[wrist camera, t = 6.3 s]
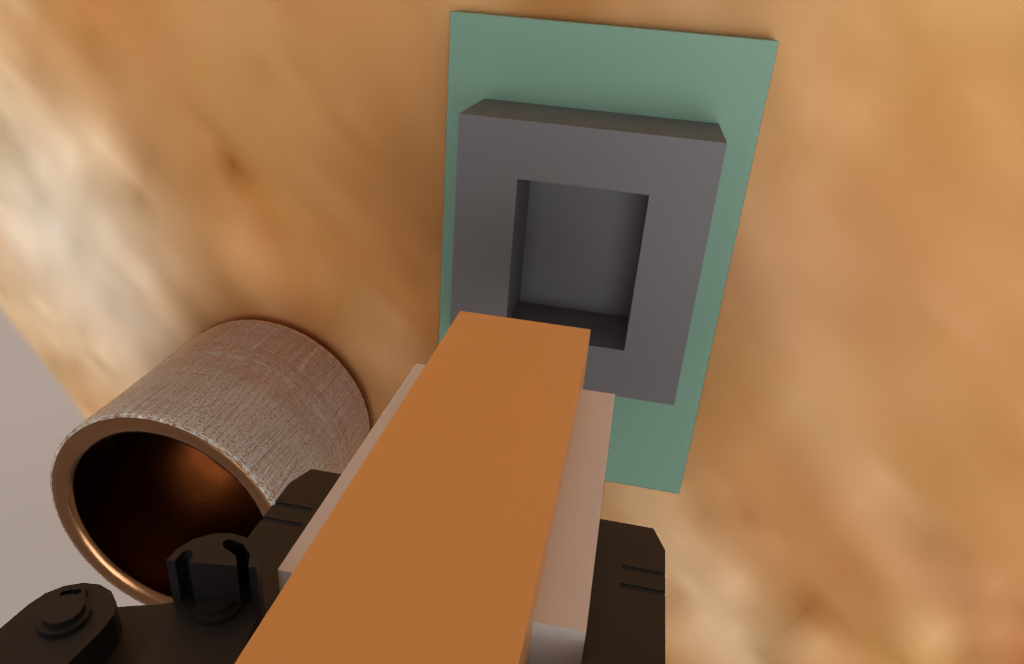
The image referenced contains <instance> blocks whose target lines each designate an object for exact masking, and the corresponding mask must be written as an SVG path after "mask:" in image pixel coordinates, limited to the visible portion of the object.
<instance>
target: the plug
mask: <svg viewBox="0 0 1024 664" xmlns="http://www.w3.org/2000/svg"><path fill="white" fill-rule="evenodd" d="M590 332H591V330H590V329H583V328H576V327H569V326H562V325H555V324H548V323H541V322H535V321H528V320H521V319H514V318H507V317H500V316H493V315H486V314H479V313H472V312H465V311H460V312H459V314H458V315H457V317H456V318H455V320H454V321H453V323H452V325H451V326H450V328H449V329H448V331H447V332H446V334H445V336H444V337H443V339H442V340H441V342H440V343H439V345H438V346H437V348H436V350H435V351H434V353H433V354H432V356H431V357H430V359H429V361H428V362H427V364H426V365H425V367H424V368H423V370H422V371H421V373H420V375H419V376H418V378H417V379H416V381H415V382H414V384H413V386H412V387H411V389H410V390H409V392H408V393H407V395H406V396H405V398H404V400H403V401H402V403H401V404H400V406H399V407H398V409H397V411H396V412H395V414H394V415H393V417H392V418H391V420H390V421H389V423H388V425H387V426H386V428H385V429H384V431H383V432H382V434H381V436H380V437H379V439H378V440H377V442H376V443H375V445H374V446H373V448H372V450H371V451H370V453H369V454H368V456H367V457H366V459H365V461H364V462H363V464H362V465H361V467H360V468H359V470H358V471H357V473H356V475H355V476H354V478H353V479H352V481H351V482H350V484H349V486H348V487H347V489H346V490H345V492H344V493H343V495H342V496H341V498H340V500H339V501H338V503H337V504H336V506H335V507H334V509H333V511H332V512H331V514H330V515H329V517H328V518H327V520H326V521H325V523H324V525H323V526H322V528H321V529H320V531H319V532H318V534H317V536H316V537H315V539H314V540H313V542H312V543H311V545H310V546H309V548H308V550H307V551H306V553H305V554H304V556H303V557H302V559H301V561H300V562H299V564H298V565H297V567H296V568H295V570H294V571H293V573H292V575H291V576H290V578H289V579H288V581H287V582H286V584H285V586H284V587H283V589H282V590H281V592H280V593H279V595H278V596H277V598H276V600H275V601H274V603H273V604H272V606H271V607H270V609H269V611H268V612H267V614H266V615H265V617H264V618H263V620H262V621H261V623H260V625H259V626H258V628H257V629H256V631H255V632H254V634H253V636H252V637H251V639H250V640H249V642H248V643H247V645H246V646H245V648H244V650H243V651H242V653H241V654H240V656H239V657H238V659H237V661H236V662H235V664H528V662H529V653H530V644H531V636H532V627H533V620H534V615H535V610H536V605H537V600H538V596H539V591H540V586H541V581H542V576H543V571H544V567H545V562H546V557H547V552H548V547H549V542H550V538H551V533H552V528H553V523H554V518H555V514H556V509H557V504H558V499H559V494H560V489H561V485H562V480H563V475H564V470H565V465H566V460H567V456H568V451H569V446H570V441H571V436H572V432H573V427H574V422H575V417H576V412H577V407H578V403H579V398H580V393H581V389H583V385H584V378H585V370H586V362H587V355H588V347H589V339H590Z"/></svg>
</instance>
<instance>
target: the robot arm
mask: <svg viewBox="0 0 1024 664" xmlns="http://www.w3.org/2000/svg"><path fill="white" fill-rule="evenodd" d="M424 367H425V365H424V364H418V363H416V364H415V365H414V367H413V368H412V370H411V371H410V373H409V374H408V376H407V377H406V379H405V380H404V382H403V383H402V385H401V386H400V388H399V389H398V391H397V392H396V394H395V395H394V396H393V398H392V399H391V401H390V402H389V404H388V405H387V407H386V408H385V410H384V411H383V413H382V414H381V416H380V417H379V419H378V420H377V422H376V423H375V425H374V426H373V428H372V429H371V431H370V432H369V434H368V435H367V437H366V438H365V440H364V441H363V443H362V444H361V446H360V447H359V449H358V450H357V452H356V453H355V455H354V456H353V458H352V459H351V461H350V462H349V464H348V465H347V467H346V468H345V470H344V471H343V473H342V474H338V473H332V472H327V471H321V470H316V469H310V470H309V471H307V472H306V473H304V474H303V475H301V476H299V477H298V478H296V479H295V480H293V481H292V482H290V483H289V484H288V485H287V487H286V488H285V489H284V490H283V492H282V493H281V494H280V496H279V497H278V498H277V500H276V501H275V505H272V506H271V507H270V509H269V510H268V511H267V513H266V514H265V515H264V518H263V520H261V521H260V522H259V523H258V524H257V526H256V527H255V528H254V530H253V531H252V532H251V534H250V535H249V536H248V538H246V537H244V536H240V535H236V534H231V533H218V534H209V535H206V536H202V537H199V538H196V539H193V540H191V541H189V542H188V543H186V544H184V545H182V546H181V547H179V548H177V549H176V550H175V551H174V552H173V554H172V555H171V556H170V557H169V558H168V559H167V560H166V563H167V568H168V574H169V579H170V585H171V590H172V596H173V601H174V602H170V603H164V604H156V605H142V606H127V607H117V604H116V601H115V599H114V596H113V594H112V592H111V591H110V590H108V589H106V588H105V587H103V586H101V585H97V584H88V583H80V584H74V585H68V586H63V587H61V588H58V589H56V590H53V591H50V592H48V593H45V594H44V595H42V596H41V597H39V598H38V599H36V600H35V601H33V602H32V603H30V604H29V605H27V606H26V607H25V608H24V609H23V610H21V611H20V612H19V613H18V614H17V615H16V616H14V617H13V618H12V619H11V620H10V621H9V622H7V623H6V624H5V625H4V626H3V627H2V628H0V664H235V662H236V661H237V659H238V657H239V656H240V654H241V653H242V651H243V650H244V648H245V646H246V645H247V643H248V642H249V640H250V639H251V637H252V636H253V634H254V632H255V631H256V629H257V628H258V626H259V625H260V623H261V621H262V620H263V618H264V617H265V615H266V614H267V612H268V611H269V609H270V607H271V606H272V604H273V603H274V601H275V600H276V598H277V596H278V595H279V593H280V592H281V590H282V589H283V587H284V586H285V584H286V582H287V581H288V579H289V578H290V576H291V575H292V573H293V571H294V570H295V568H296V567H297V565H298V564H299V562H300V561H301V559H302V557H303V556H304V554H305V553H306V551H307V550H308V548H309V546H310V545H311V543H312V542H313V540H314V539H315V537H316V536H317V534H318V532H319V531H320V529H321V528H322V526H323V525H324V523H325V521H326V520H327V518H328V517H329V515H330V514H331V512H332V511H333V509H334V507H335V506H336V504H337V503H338V501H339V500H340V498H341V496H342V495H343V493H344V492H345V490H346V489H347V487H348V486H349V484H350V482H351V481H352V479H353V478H354V476H355V475H356V473H357V471H358V470H359V468H360V467H361V465H362V464H363V462H364V461H365V459H366V457H367V456H368V454H369V453H370V451H371V450H372V448H373V446H374V445H375V443H376V442H377V440H378V439H379V437H380V436H381V434H382V432H383V431H384V429H385V428H386V426H387V425H388V423H389V421H390V420H391V418H392V417H393V415H394V414H395V412H396V411H397V409H398V407H399V406H400V404H401V403H402V401H403V400H404V398H405V396H406V395H407V393H408V392H409V390H410V389H411V387H412V386H413V384H414V382H415V381H416V379H417V378H418V376H419V375H420V373H421V371H422V370H423V368H424ZM614 398H615V394H610V393H604V392H598V391H591V390H585V389H581V393H580V398H579V403H578V407H577V412H576V417H575V422H574V427H573V432H572V436H571V441H570V446H569V451H568V456H567V460H566V465H565V470H564V475H563V480H562V485H561V489H560V494H559V499H558V504H557V509H556V514H555V518H554V523H553V528H552V533H551V538H550V542H549V547H548V552H547V557H546V562H545V567H544V571H543V576H542V581H541V586H540V591H539V596H538V600H537V605H536V610H535V615H534V620H533V627H532V636H531V644H530V653H529V662H528V664H665V549H664V548H663V546H662V544H661V542H660V540H659V538H658V536H657V535H656V533H655V531H654V529H653V528H647V527H642V526H636V525H630V524H625V523H619V522H614V521H608V520H603V519H600V514H601V506H602V497H603V489H604V481H605V473H606V464H607V456H608V448H609V440H610V431H611V423H612V415H613V407H614Z"/></svg>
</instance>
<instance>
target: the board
mask: <svg viewBox="0 0 1024 664" xmlns="http://www.w3.org/2000/svg"><path fill="white" fill-rule="evenodd" d="M778 43H779V41H776V40H772V39H761V38H750V37H739V36H728V35H717V34H706V33H695V32H684V31H673V30H662V29H651V28H640V27H629V26H618V25H607V24H596V23H585V22H574V21H563V20H552V19H541V18H530V17H519V16H508V15H497V14H486V13H475V12H464V11H452V12H450V40H449V68H448V96H447V124H446V152H445V180H444V209H443V237H442V265H441V293H440V321H439V343H440V342H441V340H442V339H443V337H444V336H445V334H446V332H447V331H448V329H449V328H450V326H451V325H452V323H453V321H454V320H455V318H456V317H457V315H458V314H459V312H460V311H465V312H472V313H479V314H486V315H493V316H500V317H507V318H514V319H521V320H528V321H535V322H541V323H548V324H555V325H562V326H569V327H576V328H583V329H590V330H591V332H590V339H589V347H588V355H587V362H586V370H585V378H584V385H583V389H585V390H591V391H598V392H604V393H610V394H615V398H614V407H613V415H612V423H611V431H610V440H609V448H608V456H607V464H606V473H605V481H609V482H615V483H621V484H626V485H632V486H638V487H643V488H649V489H655V490H660V491H666V492H672V493H677V494H679V492H680V488H681V483H682V479H683V474H684V470H685V465H686V461H687V456H688V452H689V447H690V443H691V438H692V433H693V429H694V424H695V420H696V415H697V411H698V406H699V402H700V397H701V393H702V388H703V384H704V379H705V375H706V370H707V365H708V361H709V356H710V352H711V347H712V343H713V338H714V334H715V329H716V325H717V320H718V316H719V311H720V306H721V302H722V297H723V293H724V288H725V284H726V279H727V275H728V270H729V266H730V261H731V257H732V252H733V247H734V243H735V238H736V234H737V229H738V225H739V220H740V216H741V211H742V207H743V202H744V198H745V193H746V189H747V184H748V179H749V175H750V170H751V166H752V161H753V157H754V152H755V148H756V143H757V139H758V134H759V130H760V125H761V120H762V116H763V111H764V107H765V102H766V98H767V93H768V89H769V84H770V80H771V75H772V71H773V66H774V62H775V57H776V52H777V48H778Z"/></svg>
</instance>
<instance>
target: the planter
mask: <svg viewBox="0 0 1024 664" xmlns="http://www.w3.org/2000/svg"><path fill="white" fill-rule="evenodd" d="M369 432H370V420H369V415H368V410H367V407H366V404H365V401H364V398H363V396H362V394H361V391H360V389H359V387H358V386H357V384H356V382H355V381H354V379H353V378H352V376H351V375H350V373H349V372H348V371H347V369H346V368H345V367H344V366H343V364H342V363H341V362H340V361H339V360H338V359H337V358H336V357H335V356H334V355H333V354H332V353H331V352H329V351H328V350H327V349H326V348H325V347H323V346H322V345H321V344H319V343H318V342H317V341H315V340H314V339H312V338H310V337H309V336H307V335H305V334H303V333H301V332H299V331H297V330H295V329H292V328H290V327H287V326H285V325H281V324H278V323H274V322H269V321H263V320H253V319H245V320H235V321H229V322H226V323H222V324H220V325H217V326H215V327H212V328H210V329H208V330H206V331H204V332H202V333H201V334H199V335H197V336H196V337H195V338H193V339H192V340H191V341H189V342H188V343H187V344H185V345H184V346H183V347H181V348H180V349H179V350H178V351H176V352H175V353H174V354H172V355H171V356H170V357H168V358H167V359H166V360H165V361H163V362H162V363H161V364H159V365H158V366H157V367H156V368H154V369H153V370H152V371H150V372H149V373H148V374H147V375H145V376H144V377H143V378H141V379H140V380H139V381H137V382H136V383H135V384H134V385H132V386H131V387H130V388H128V389H127V390H126V391H124V392H123V393H122V394H120V395H119V396H118V397H116V398H115V399H114V400H112V401H111V402H110V403H108V404H107V405H106V406H104V407H103V408H102V409H100V410H99V411H98V412H96V413H95V414H94V415H92V416H91V417H90V418H88V419H87V420H86V421H84V422H83V423H82V424H80V425H79V426H78V427H77V428H75V429H74V430H73V431H72V432H71V433H70V434H68V436H66V438H65V439H64V440H63V441H62V443H61V444H60V446H59V447H58V450H57V452H56V454H55V456H54V459H53V463H52V467H51V477H50V479H51V480H50V481H51V482H50V483H51V492H52V499H53V503H54V506H55V509H56V512H57V515H58V518H59V520H60V522H61V524H62V526H63V528H64V530H65V532H66V534H67V535H68V537H69V539H70V540H71V542H72V543H73V545H74V546H75V547H76V549H77V550H78V551H79V553H80V554H81V555H82V556H83V558H84V559H85V560H86V561H87V562H88V563H89V564H90V565H91V566H92V567H93V568H94V569H95V570H96V571H97V572H98V573H99V574H100V575H101V576H102V577H104V578H105V579H106V580H107V581H108V582H110V583H111V584H112V585H114V586H115V587H117V588H118V589H119V590H120V591H122V592H123V593H125V594H127V595H128V596H130V597H131V598H133V599H135V600H137V601H138V602H140V603H142V604H144V605H156V604H164V603H170V602H174V601H173V596H172V590H171V585H170V579H169V574H168V568H167V563H166V560H167V559H168V558H169V557H170V556H171V555H172V554H173V552H174V551H175V550H176V549H177V548H179V547H181V546H182V545H184V544H186V543H188V542H189V541H191V540H193V539H196V538H199V537H202V536H206V535H209V534H218V533H231V534H236V535H240V536H244V537H246V538H248V536H249V535H250V534H251V532H252V531H253V530H254V528H255V527H256V526H257V524H258V523H259V522H260V521H261V520H263V518H264V515H265V514H266V513H267V511H268V510H269V509H270V507H271V506H272V505H275V501H276V500H277V498H278V497H279V496H280V494H281V493H282V492H283V490H284V489H285V488H286V487H287V485H288V484H289V483H290V482H292V481H293V480H295V479H296V478H298V477H299V476H301V475H303V474H304V473H306V472H307V471H309V470H310V469H316V470H321V471H327V472H332V473H338V474H342V473H343V471H344V470H345V468H346V467H347V465H348V464H349V462H350V461H351V459H352V458H353V456H354V455H355V453H356V452H357V450H358V449H359V447H360V446H361V444H362V443H363V441H364V440H365V438H366V437H367V435H368V434H369Z"/></svg>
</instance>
